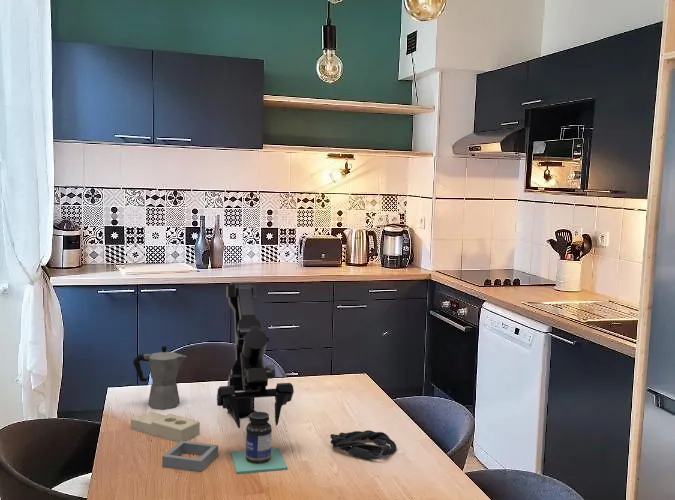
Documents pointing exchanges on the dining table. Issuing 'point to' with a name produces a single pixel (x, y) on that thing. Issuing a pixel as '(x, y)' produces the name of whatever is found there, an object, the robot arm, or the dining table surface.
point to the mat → (249, 467)
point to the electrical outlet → (166, 426)
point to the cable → (361, 449)
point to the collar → (187, 463)
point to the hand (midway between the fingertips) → (258, 426)
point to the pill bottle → (258, 438)
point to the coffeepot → (161, 377)
